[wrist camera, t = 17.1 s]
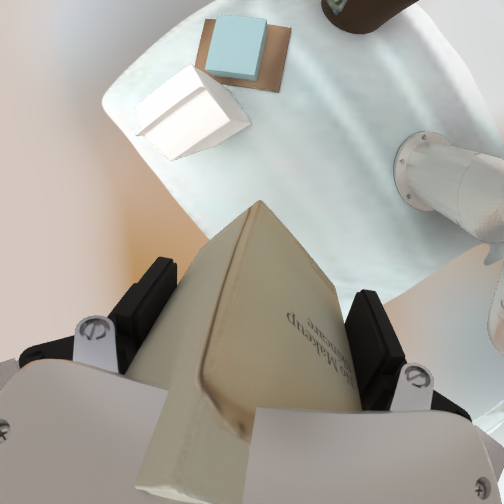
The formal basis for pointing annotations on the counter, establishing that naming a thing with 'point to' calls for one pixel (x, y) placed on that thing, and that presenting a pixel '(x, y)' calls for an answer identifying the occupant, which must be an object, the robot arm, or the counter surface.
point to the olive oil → (362, 13)
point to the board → (269, 64)
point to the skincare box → (239, 356)
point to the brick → (237, 47)
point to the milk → (189, 114)
